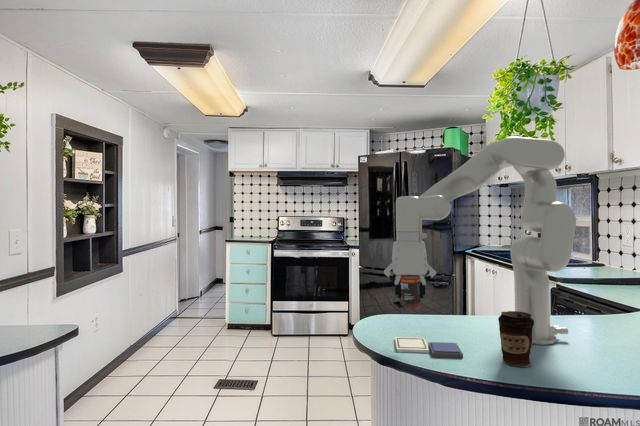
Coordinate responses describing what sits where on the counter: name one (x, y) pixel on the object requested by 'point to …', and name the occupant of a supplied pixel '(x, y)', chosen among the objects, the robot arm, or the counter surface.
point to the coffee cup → (516, 337)
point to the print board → (411, 344)
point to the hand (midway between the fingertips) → (410, 296)
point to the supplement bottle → (410, 291)
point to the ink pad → (445, 350)
